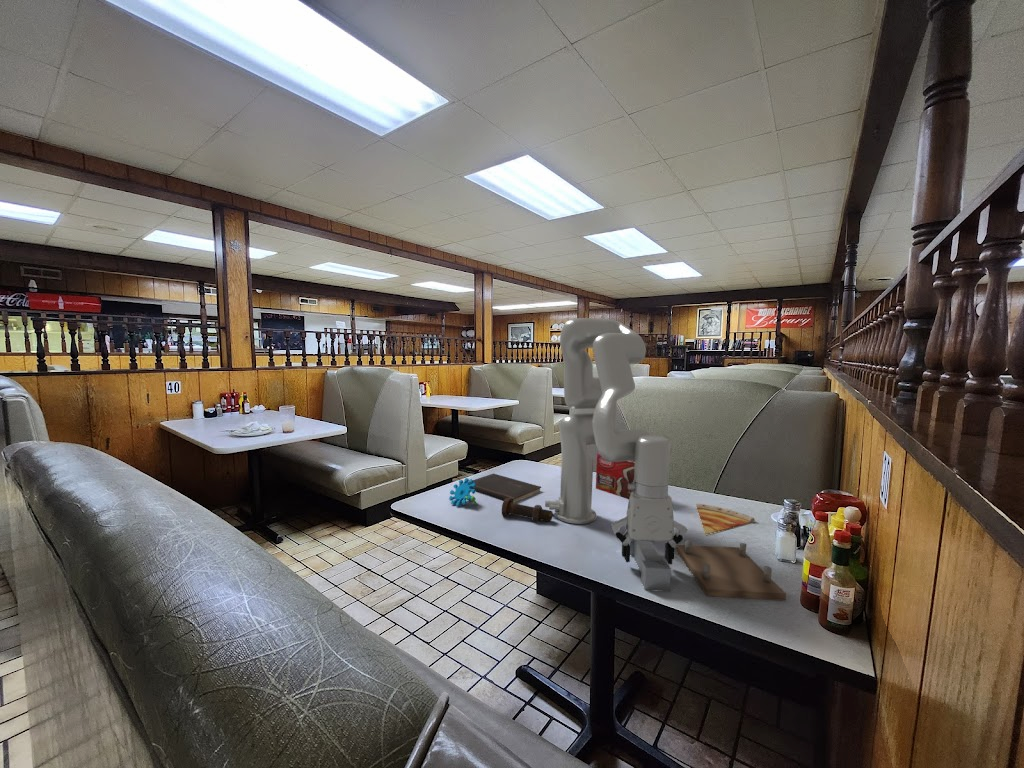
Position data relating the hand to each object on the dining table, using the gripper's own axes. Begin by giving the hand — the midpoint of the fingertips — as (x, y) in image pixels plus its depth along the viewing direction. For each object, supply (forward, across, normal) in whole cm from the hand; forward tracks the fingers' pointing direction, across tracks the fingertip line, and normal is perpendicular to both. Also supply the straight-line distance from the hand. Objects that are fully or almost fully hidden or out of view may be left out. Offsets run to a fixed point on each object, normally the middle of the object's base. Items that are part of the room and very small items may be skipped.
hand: (647, 560), depth 98 cm
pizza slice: (+3, +27, +32) cm, 42 cm away
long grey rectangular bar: (+2, 0, 0) cm, 2 cm away
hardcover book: (+2, -38, +50) cm, 63 cm away
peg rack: (+2, +18, 0) cm, 18 cm away
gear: (+2, -50, +35) cm, 61 cm away
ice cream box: (+2, +5, +51) cm, 51 cm away
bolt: (+2, -29, +26) cm, 39 cm away
